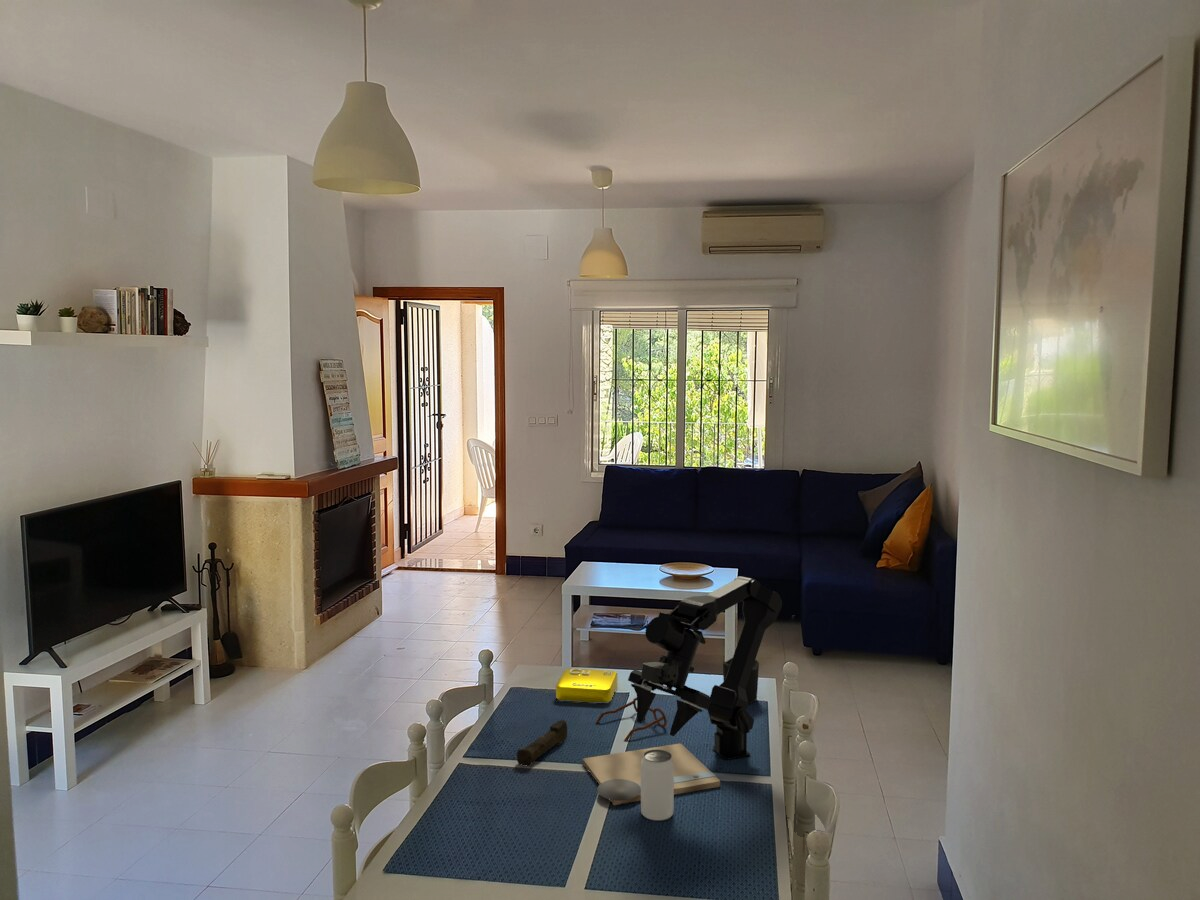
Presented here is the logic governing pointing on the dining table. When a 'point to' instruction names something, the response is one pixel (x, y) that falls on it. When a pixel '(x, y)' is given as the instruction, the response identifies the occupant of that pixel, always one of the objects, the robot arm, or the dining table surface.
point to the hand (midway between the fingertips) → (654, 729)
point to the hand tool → (543, 743)
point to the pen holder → (752, 682)
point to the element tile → (586, 685)
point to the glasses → (636, 711)
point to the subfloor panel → (624, 773)
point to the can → (657, 785)
